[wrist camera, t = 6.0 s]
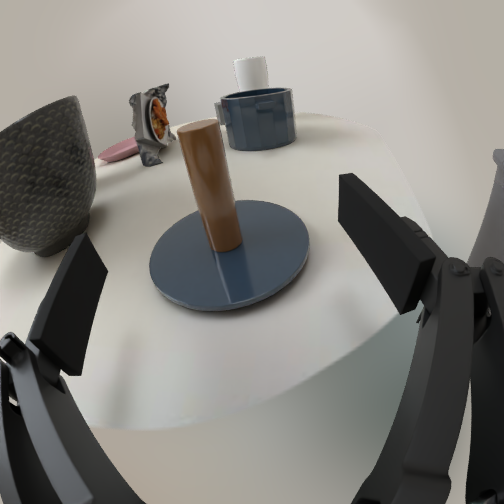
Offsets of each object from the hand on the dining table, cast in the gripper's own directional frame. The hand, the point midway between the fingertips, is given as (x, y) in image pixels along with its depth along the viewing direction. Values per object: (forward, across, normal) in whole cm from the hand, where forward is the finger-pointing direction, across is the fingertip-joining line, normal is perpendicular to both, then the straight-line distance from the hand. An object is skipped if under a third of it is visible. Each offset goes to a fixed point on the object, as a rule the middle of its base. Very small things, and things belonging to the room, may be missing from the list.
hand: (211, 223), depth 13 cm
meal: (+41, -10, -6) cm, 42 cm away
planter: (+17, -22, -6) cm, 28 cm away
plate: (+51, -21, -6) cm, 55 cm away
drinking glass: (+48, +10, -6) cm, 50 cm away
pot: (+34, +8, -6) cm, 35 cm away
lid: (+6, 0, -6) cm, 8 cm away
